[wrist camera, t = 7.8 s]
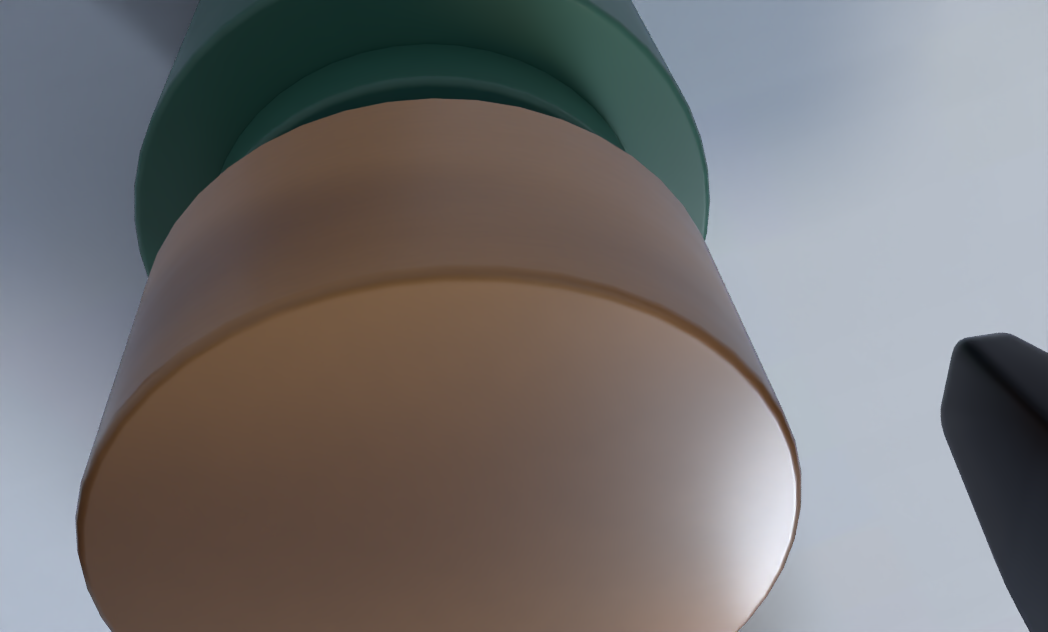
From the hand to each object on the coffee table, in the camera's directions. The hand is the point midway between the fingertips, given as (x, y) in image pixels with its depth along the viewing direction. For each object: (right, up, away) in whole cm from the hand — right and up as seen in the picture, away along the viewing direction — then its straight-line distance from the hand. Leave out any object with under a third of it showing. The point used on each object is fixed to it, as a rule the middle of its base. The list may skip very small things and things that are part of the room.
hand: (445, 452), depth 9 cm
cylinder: (0, +1, +1) cm, 1 cm away
